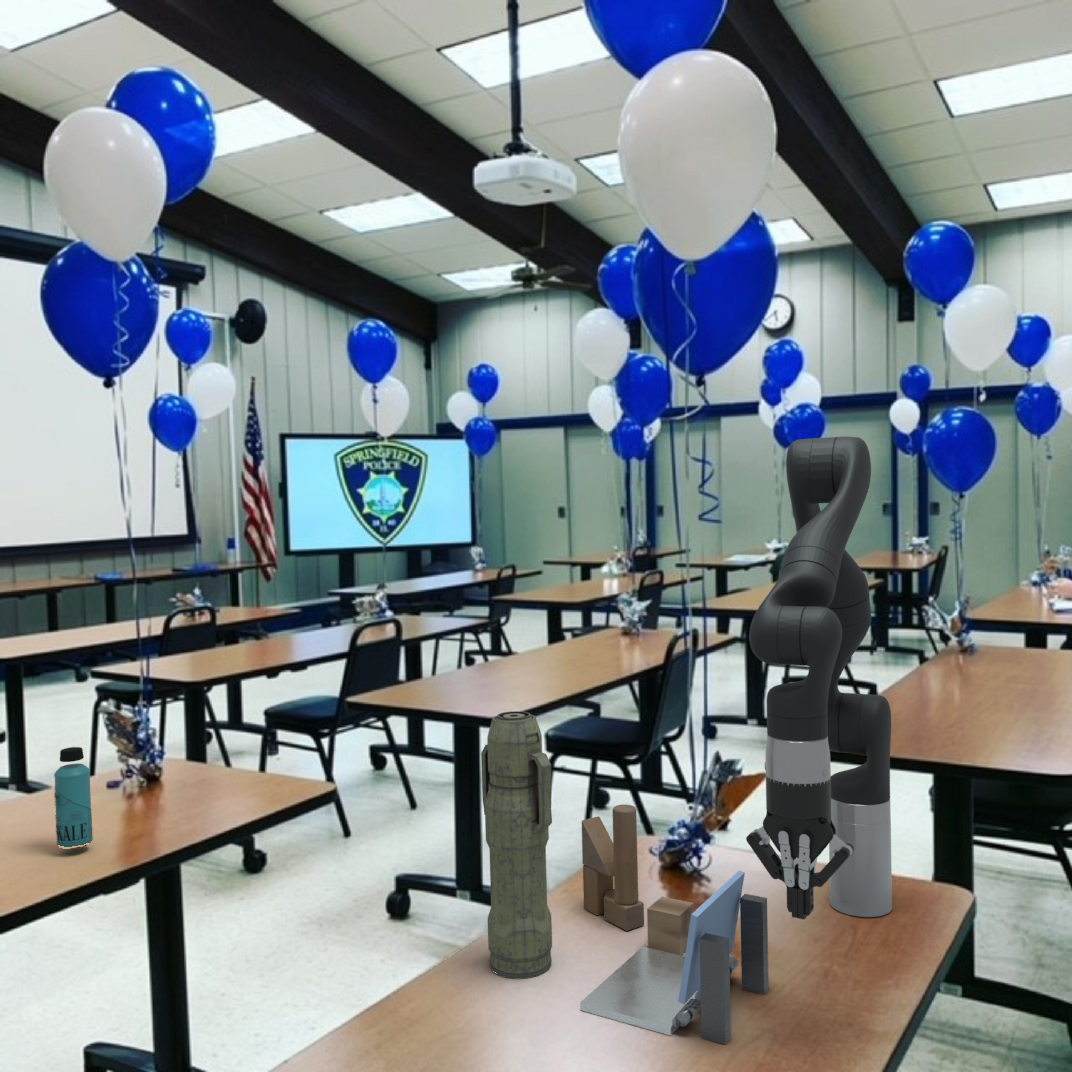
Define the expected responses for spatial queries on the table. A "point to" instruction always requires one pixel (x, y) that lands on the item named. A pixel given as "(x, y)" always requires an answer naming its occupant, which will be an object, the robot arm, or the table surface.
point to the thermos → (517, 845)
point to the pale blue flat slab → (710, 931)
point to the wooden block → (612, 869)
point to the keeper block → (669, 925)
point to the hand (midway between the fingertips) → (800, 916)
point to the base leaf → (655, 978)
